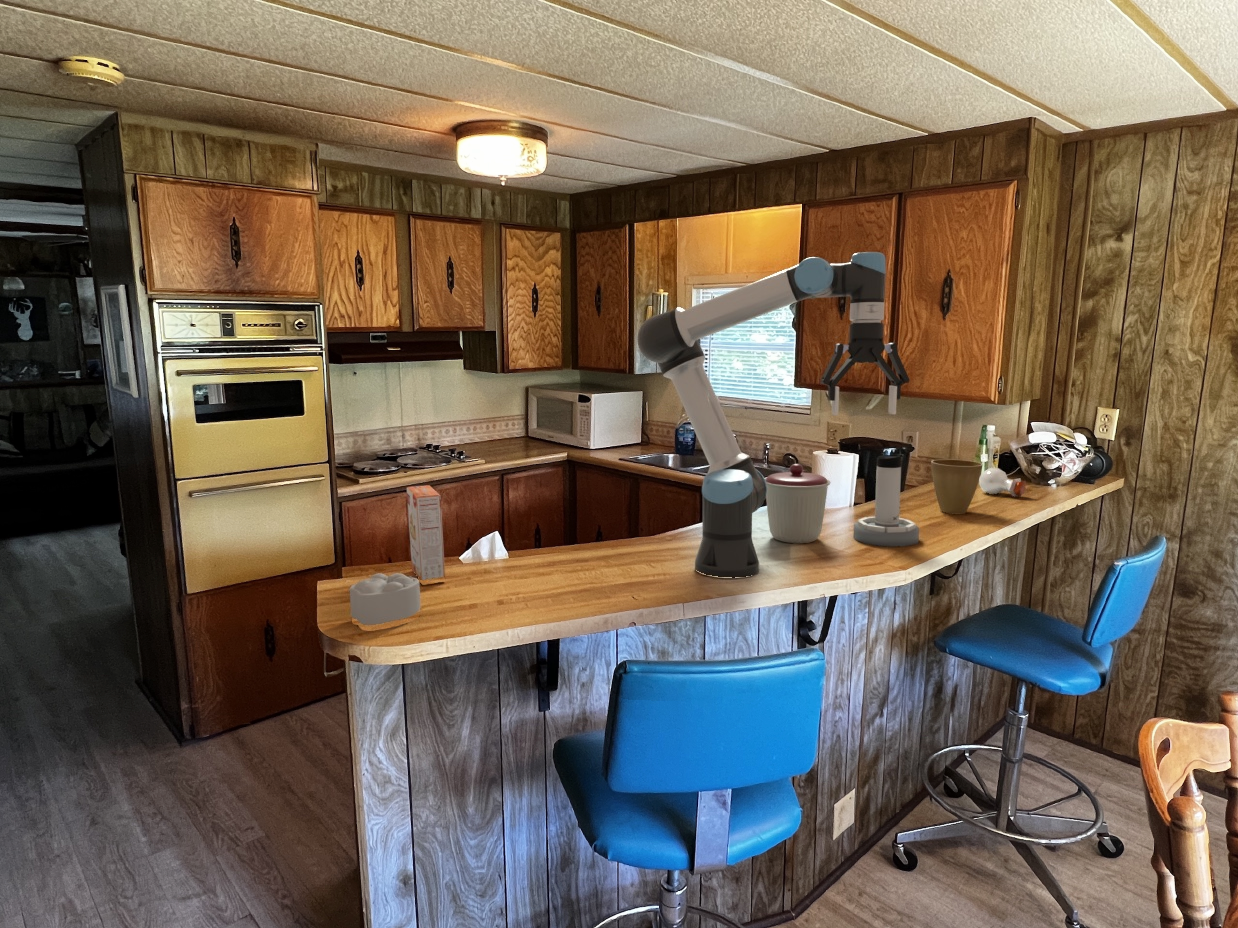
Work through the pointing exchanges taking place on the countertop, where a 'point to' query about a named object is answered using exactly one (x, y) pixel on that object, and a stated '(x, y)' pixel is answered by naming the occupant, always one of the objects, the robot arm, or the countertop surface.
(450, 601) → the countertop surface
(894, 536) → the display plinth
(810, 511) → the canister
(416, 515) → the cracker box
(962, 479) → the plant pot
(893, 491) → the travel mug
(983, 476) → the potion bottle
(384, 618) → the lumpy-topped squat cylinder
